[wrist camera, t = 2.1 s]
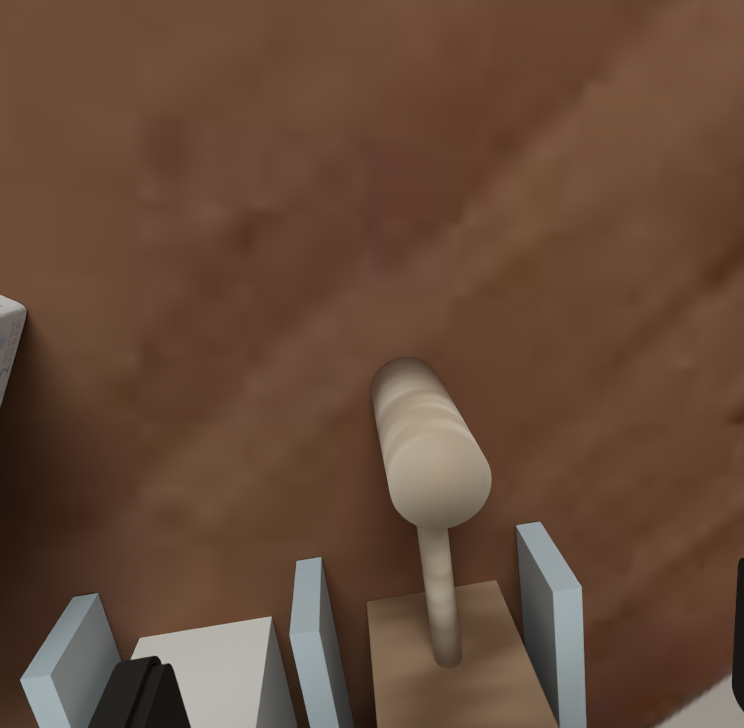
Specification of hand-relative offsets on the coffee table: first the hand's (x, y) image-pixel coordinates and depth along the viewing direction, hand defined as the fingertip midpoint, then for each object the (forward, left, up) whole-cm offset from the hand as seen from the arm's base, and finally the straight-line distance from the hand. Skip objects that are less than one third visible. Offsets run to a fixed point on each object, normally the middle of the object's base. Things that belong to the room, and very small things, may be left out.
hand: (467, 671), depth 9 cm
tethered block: (-1, +7, -12) cm, 14 cm away
